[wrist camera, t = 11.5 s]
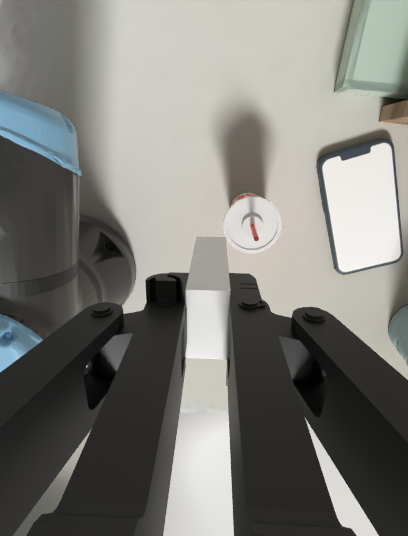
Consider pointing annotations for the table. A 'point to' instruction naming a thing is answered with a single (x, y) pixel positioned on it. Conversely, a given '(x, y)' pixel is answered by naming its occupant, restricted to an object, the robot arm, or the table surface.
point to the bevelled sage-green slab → (376, 50)
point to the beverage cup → (252, 223)
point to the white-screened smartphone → (361, 206)
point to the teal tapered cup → (400, 331)
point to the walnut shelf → (395, 113)
